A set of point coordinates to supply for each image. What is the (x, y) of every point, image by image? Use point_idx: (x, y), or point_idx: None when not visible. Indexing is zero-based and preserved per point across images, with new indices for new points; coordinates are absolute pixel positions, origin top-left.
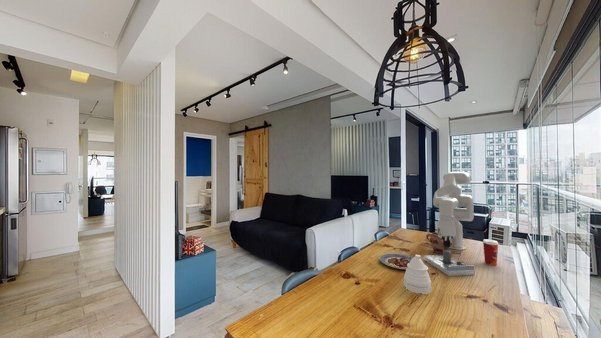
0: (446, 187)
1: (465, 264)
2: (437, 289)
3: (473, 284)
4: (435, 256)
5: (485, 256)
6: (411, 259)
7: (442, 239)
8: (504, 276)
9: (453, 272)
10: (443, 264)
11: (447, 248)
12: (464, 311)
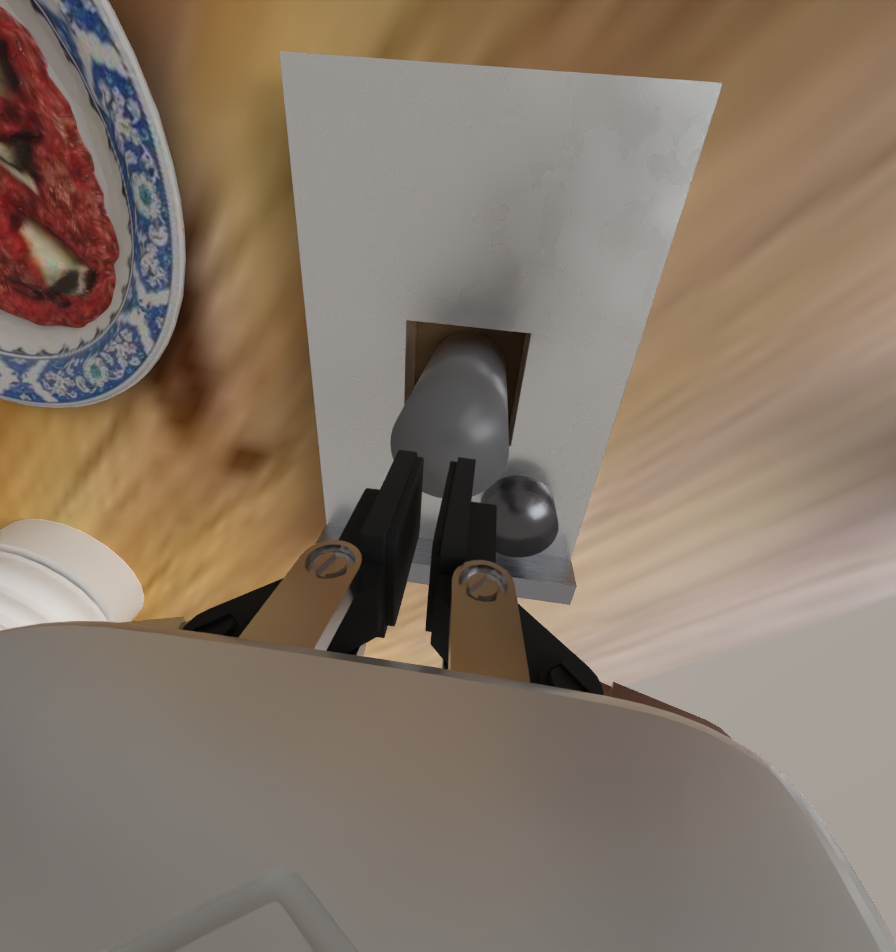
0: None
1: (532, 554)
2: (180, 606)
3: (420, 620)
4: (458, 150)
5: None
6: (92, 93)
7: (315, 551)
8: (755, 610)
9: None
10: (373, 432)
11: None
12: None
